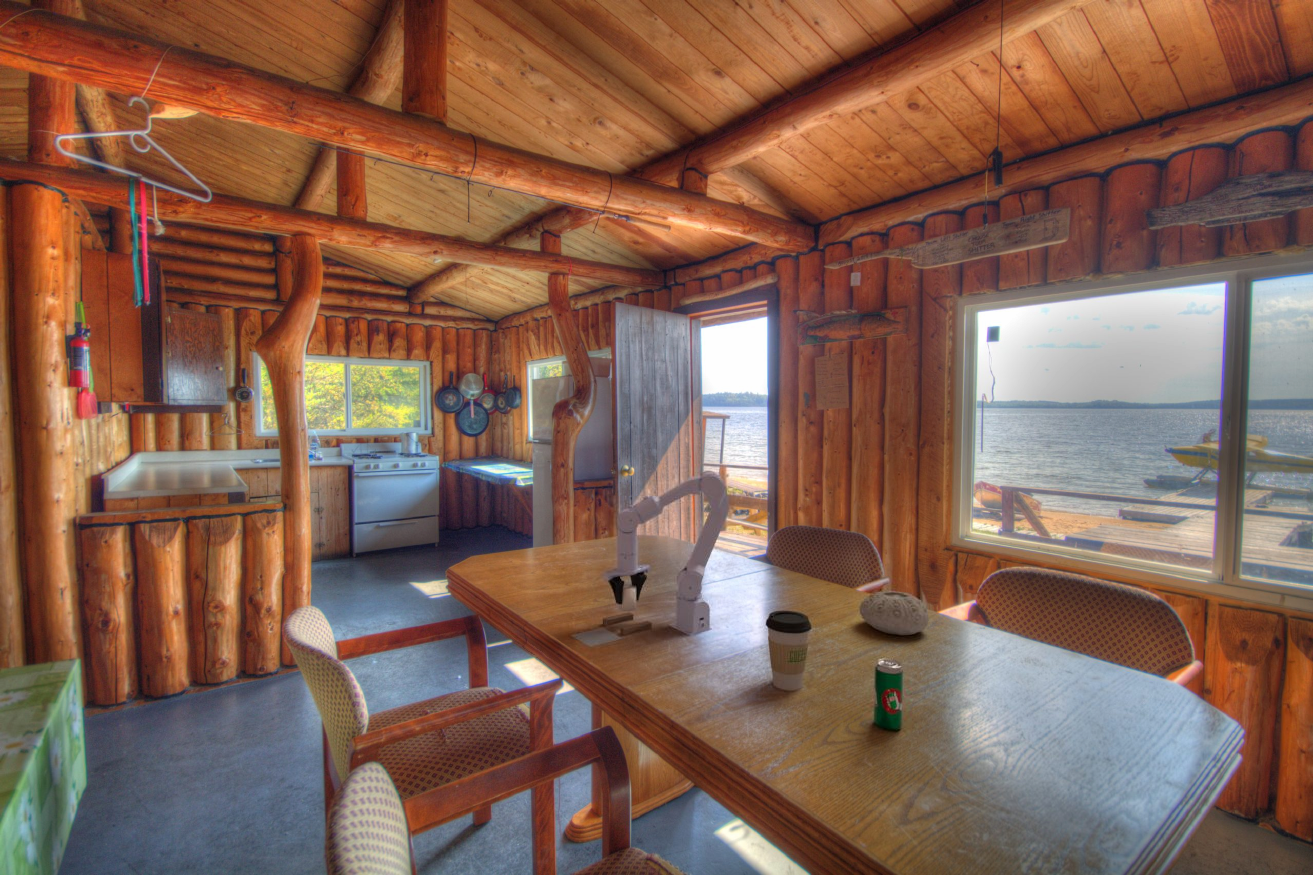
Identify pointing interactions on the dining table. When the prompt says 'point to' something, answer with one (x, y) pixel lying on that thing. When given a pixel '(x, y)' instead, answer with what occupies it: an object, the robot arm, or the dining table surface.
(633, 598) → the cream jug
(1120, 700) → the dining table surface
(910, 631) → the decorative shell
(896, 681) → the soda can
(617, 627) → the walnut cradle
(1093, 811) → the dining table surface
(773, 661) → the coffee cup
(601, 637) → the grey mat
